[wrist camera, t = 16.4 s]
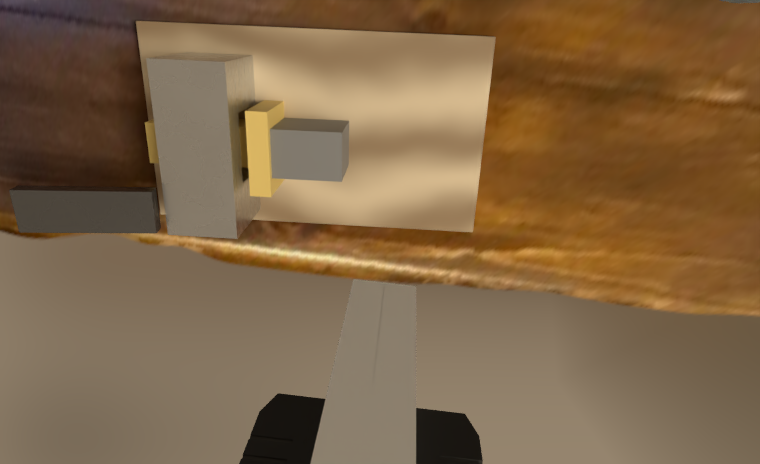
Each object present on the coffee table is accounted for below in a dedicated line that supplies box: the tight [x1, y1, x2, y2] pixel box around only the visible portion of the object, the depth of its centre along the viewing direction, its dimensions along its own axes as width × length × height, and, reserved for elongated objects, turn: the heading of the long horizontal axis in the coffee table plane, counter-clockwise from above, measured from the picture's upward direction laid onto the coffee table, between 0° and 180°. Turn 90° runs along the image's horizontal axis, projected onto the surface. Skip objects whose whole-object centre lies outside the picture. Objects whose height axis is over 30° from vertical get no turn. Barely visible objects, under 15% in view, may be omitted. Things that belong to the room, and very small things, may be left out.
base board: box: [136, 21, 496, 232], centre depth 41 cm, size 15×26×1 cm, turn 88°
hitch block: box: [146, 52, 261, 239], centre depth 38 cm, size 12×5×6 cm, turn 178°
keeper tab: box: [9, 186, 161, 233], centre depth 36 cm, size 3×9×1 cm, turn 88°
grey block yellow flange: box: [145, 100, 349, 197], centre depth 38 cm, size 6×14×5 cm, turn 88°
